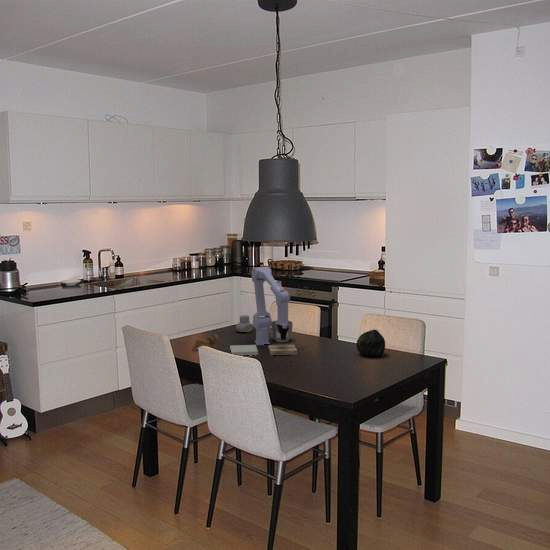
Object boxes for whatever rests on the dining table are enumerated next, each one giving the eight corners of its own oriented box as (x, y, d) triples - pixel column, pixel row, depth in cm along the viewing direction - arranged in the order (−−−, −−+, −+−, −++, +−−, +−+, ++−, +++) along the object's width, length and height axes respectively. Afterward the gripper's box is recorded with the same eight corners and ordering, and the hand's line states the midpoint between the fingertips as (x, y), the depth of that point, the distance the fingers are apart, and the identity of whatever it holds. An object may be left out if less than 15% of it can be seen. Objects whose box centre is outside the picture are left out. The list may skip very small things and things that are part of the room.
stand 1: (230, 350, 332) (230, 345, 332) (255, 349, 334) (255, 344, 334) (231, 356, 318) (231, 352, 318) (257, 356, 320) (257, 351, 320)
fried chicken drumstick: (218, 349, 334) (218, 333, 333) (219, 351, 329) (219, 335, 328) (191, 350, 332) (191, 334, 331) (191, 352, 327) (191, 336, 326)
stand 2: (268, 349, 334) (268, 344, 333) (293, 348, 335) (293, 344, 335) (271, 356, 320) (271, 351, 320) (297, 355, 322) (297, 350, 321)
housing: (276, 340, 329) (275, 331, 328) (286, 339, 329) (286, 330, 329) (277, 342, 324) (277, 333, 324) (288, 341, 325) (288, 332, 324)
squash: (353, 340, 331) (358, 324, 320) (380, 341, 332) (386, 325, 321) (356, 362, 322) (361, 347, 310) (384, 363, 323) (390, 347, 311)
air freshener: (241, 334, 369) (241, 318, 368) (233, 332, 375) (233, 316, 374) (255, 331, 376) (255, 316, 375) (247, 329, 382) (247, 314, 381)
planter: (266, 340, 354) (266, 322, 353) (282, 337, 362) (282, 319, 361) (281, 344, 345) (281, 325, 343) (296, 340, 353) (296, 322, 352)
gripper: (273, 311, 331) (273, 335, 333) (277, 316, 317) (277, 342, 319) (286, 311, 332) (286, 335, 334) (290, 316, 318) (290, 341, 320)
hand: (282, 338), depth 327 cm, fingers closed on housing, 4 cm apart
